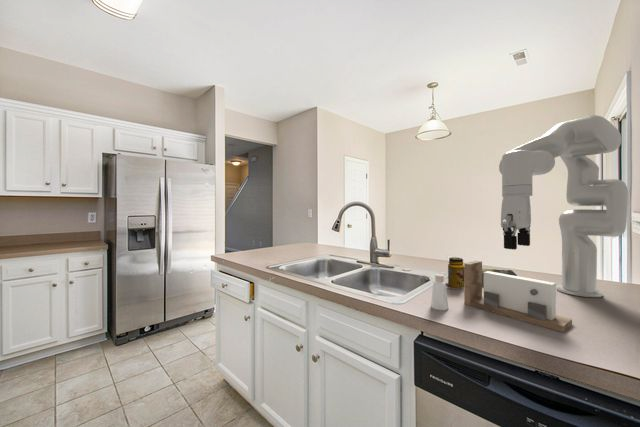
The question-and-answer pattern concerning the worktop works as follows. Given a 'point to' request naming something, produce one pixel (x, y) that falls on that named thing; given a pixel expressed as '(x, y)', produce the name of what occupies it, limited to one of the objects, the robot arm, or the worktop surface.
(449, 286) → the condiment
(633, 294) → the worktop surface
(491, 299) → the cabinet base
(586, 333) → the worktop surface
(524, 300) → the door panel
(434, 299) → the pepper shaker
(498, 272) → the juice carton
